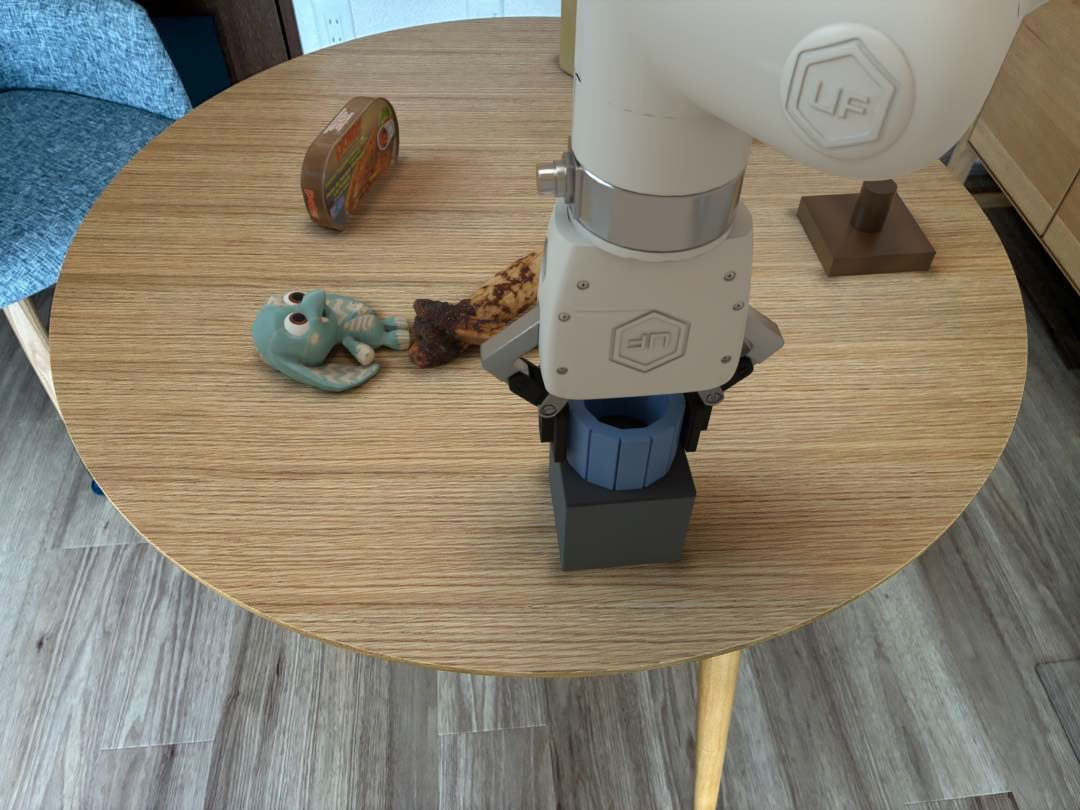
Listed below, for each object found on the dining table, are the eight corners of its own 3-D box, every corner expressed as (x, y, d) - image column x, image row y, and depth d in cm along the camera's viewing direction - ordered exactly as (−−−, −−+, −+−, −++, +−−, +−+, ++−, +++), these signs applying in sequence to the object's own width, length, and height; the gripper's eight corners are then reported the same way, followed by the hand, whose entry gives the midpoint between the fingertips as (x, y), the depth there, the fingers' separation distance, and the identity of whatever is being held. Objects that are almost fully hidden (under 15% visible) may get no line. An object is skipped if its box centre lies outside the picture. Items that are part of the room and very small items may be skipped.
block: (655, 475, 61) (669, 395, 54) (678, 569, 56) (697, 493, 49) (548, 484, 60) (550, 404, 54) (561, 579, 55) (566, 504, 49)
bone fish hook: (471, 418, 65) (624, 299, 73) (468, 377, 61) (629, 257, 69) (390, 354, 69) (544, 248, 77) (383, 312, 65) (545, 205, 73)
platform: (886, 217, 81) (910, 152, 76) (924, 279, 75) (954, 212, 70) (793, 223, 80) (812, 157, 75) (825, 285, 75) (847, 219, 69)
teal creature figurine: (424, 340, 62) (248, 341, 58) (415, 408, 67) (252, 412, 63) (407, 248, 69) (249, 244, 65) (400, 316, 74) (253, 315, 70)
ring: (662, 401, 54) (671, 350, 51) (685, 485, 50) (696, 436, 46) (558, 408, 54) (560, 357, 50) (572, 494, 49) (575, 445, 46)
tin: (338, 249, 77) (321, 168, 71) (306, 242, 78) (287, 161, 71) (406, 160, 87) (396, 82, 80) (377, 155, 87) (365, 76, 81)
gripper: (460, 247, 35) (478, 502, 48) (875, 224, 36) (781, 477, 49) (452, 145, 40) (471, 402, 53) (818, 128, 41) (746, 382, 54)
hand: (620, 437), depth 51 cm, fingers open, 7 cm apart
